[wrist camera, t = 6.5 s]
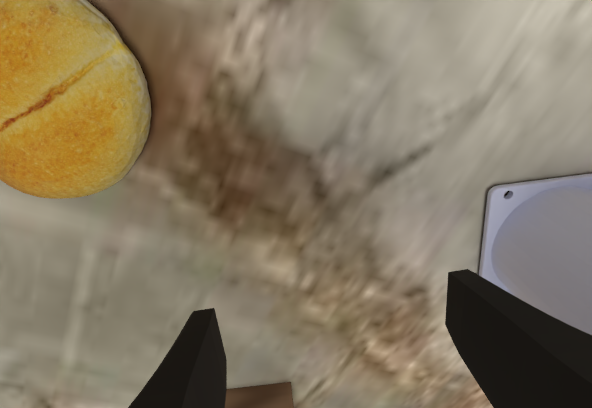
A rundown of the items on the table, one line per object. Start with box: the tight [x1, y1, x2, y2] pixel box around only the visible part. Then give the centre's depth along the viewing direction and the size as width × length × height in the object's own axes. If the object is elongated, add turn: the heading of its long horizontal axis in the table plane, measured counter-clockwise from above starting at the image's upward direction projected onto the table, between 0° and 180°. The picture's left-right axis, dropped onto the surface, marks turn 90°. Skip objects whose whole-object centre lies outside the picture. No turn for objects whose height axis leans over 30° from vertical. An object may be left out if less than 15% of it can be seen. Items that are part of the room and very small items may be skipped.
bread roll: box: [0, 0, 151, 198], centre depth 17 cm, size 8×9×4 cm
